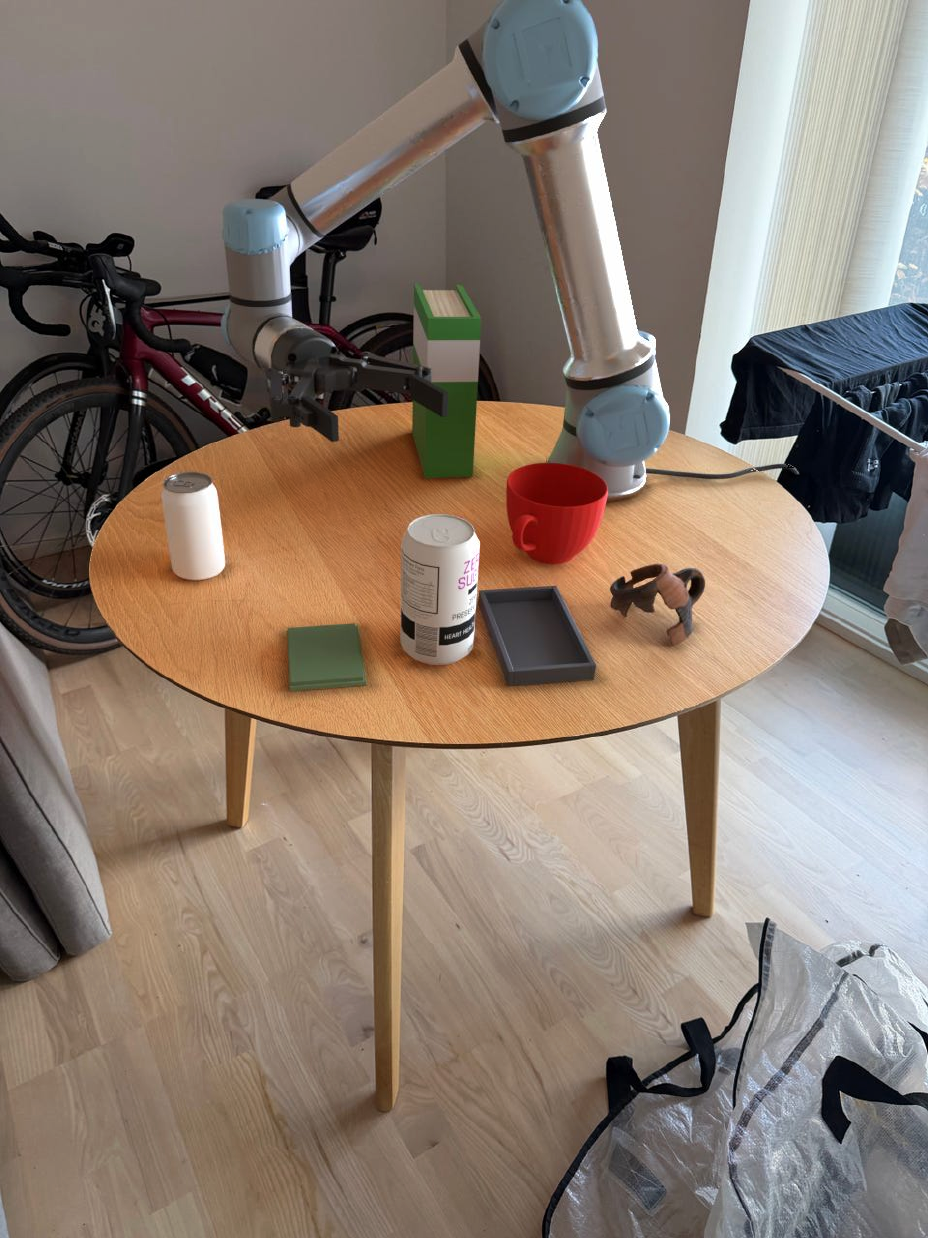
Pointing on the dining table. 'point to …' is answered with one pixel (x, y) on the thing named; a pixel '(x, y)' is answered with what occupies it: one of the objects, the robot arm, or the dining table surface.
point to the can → (193, 526)
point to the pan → (535, 636)
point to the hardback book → (447, 379)
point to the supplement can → (438, 588)
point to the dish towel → (325, 657)
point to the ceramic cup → (554, 510)
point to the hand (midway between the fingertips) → (392, 416)
